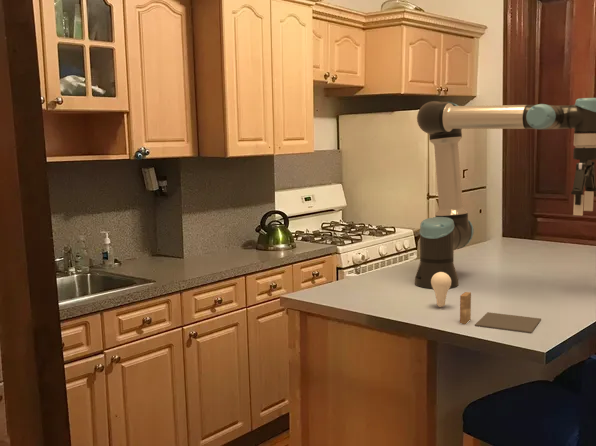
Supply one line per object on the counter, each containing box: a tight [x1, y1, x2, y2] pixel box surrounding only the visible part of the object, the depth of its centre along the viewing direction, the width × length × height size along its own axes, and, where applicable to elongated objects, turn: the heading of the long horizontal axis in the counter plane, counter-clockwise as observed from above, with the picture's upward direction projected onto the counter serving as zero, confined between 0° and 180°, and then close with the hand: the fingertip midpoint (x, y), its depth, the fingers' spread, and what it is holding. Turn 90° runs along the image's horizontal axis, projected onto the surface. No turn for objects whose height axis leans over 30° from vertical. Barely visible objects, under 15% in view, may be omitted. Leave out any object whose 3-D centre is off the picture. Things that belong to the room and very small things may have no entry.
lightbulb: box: [431, 272, 451, 308], centre depth 196 cm, size 6×6×11 cm
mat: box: [474, 311, 542, 334], centre depth 178 cm, size 15×14×1 cm
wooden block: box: [459, 291, 472, 325], centre depth 180 cm, size 2×5×8 cm, turn 150°
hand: (583, 213), depth 207 cm, fingers open, 13 cm apart
